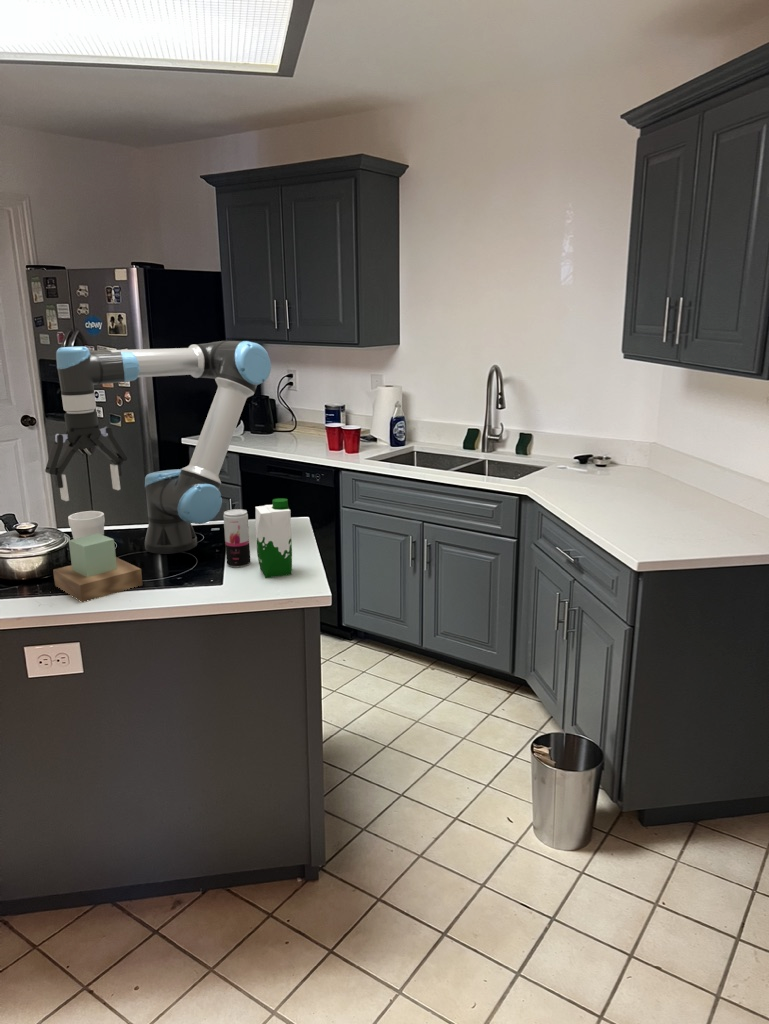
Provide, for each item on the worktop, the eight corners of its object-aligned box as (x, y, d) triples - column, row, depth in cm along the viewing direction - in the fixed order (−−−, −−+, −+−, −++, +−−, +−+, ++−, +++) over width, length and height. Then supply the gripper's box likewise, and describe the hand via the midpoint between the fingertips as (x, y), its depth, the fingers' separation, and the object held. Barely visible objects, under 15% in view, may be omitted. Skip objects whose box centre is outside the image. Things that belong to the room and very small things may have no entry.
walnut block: (114, 572, 205) (112, 555, 204) (142, 587, 194) (141, 568, 193) (55, 587, 194) (53, 569, 193) (82, 604, 183) (79, 585, 182)
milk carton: (295, 575, 200) (292, 502, 195) (262, 579, 197) (258, 506, 192) (288, 565, 208) (285, 495, 203) (255, 569, 205) (251, 498, 200)
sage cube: (101, 562, 198) (98, 533, 196) (117, 569, 193) (113, 539, 191) (72, 570, 193) (68, 540, 190) (87, 577, 187) (83, 546, 185)
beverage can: (239, 569, 205) (236, 516, 201) (221, 565, 209) (218, 513, 205) (255, 562, 211) (252, 510, 207) (237, 558, 214) (234, 507, 210)
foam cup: (71, 566, 209) (66, 521, 206) (75, 555, 218) (69, 512, 214) (107, 562, 212) (102, 518, 208) (109, 552, 220) (105, 509, 217)
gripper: (120, 403, 196) (129, 482, 202) (22, 416, 179) (35, 502, 184) (134, 406, 191) (144, 487, 197) (35, 419, 174) (48, 507, 179)
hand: (91, 494), depth 191 cm, fingers open, 13 cm apart
